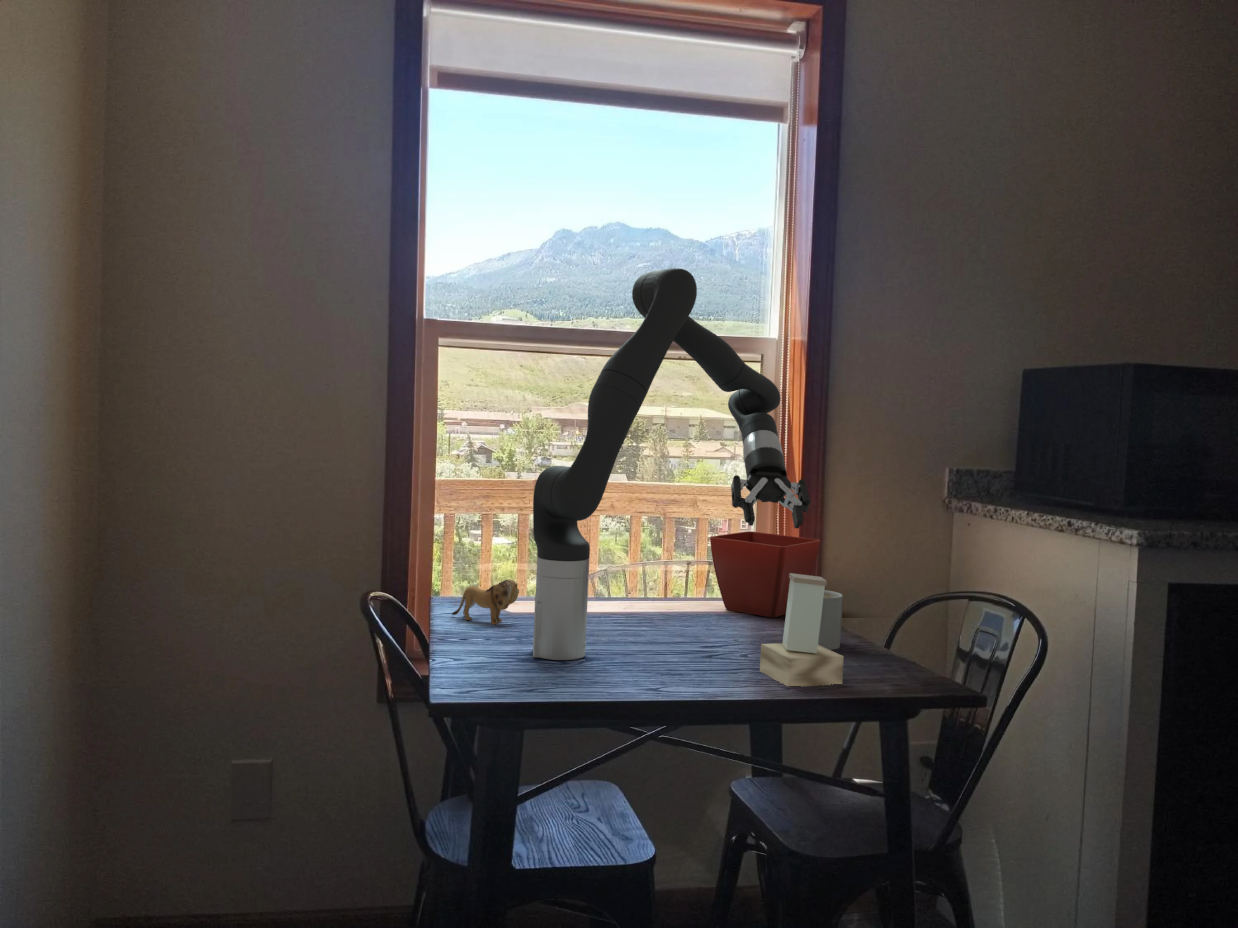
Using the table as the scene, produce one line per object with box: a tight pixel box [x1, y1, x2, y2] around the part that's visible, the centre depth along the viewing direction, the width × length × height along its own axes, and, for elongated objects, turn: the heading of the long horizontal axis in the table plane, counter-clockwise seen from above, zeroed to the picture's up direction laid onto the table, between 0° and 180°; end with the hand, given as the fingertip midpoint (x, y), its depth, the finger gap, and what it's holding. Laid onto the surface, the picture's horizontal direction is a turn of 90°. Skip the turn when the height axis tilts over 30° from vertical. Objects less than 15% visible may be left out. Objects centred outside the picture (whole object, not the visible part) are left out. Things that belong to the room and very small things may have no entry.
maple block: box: [759, 642, 845, 687], centre depth 159 cm, size 10×10×5 cm
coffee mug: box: [818, 589, 844, 651], centre depth 186 cm, size 13×10×10 cm
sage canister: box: [781, 573, 828, 654], centre depth 158 cm, size 5×5×12 cm
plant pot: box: [709, 530, 821, 618], centre depth 217 cm, size 19×19×17 cm
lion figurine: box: [451, 579, 520, 626], centre depth 192 cm, size 15×5×9 cm, turn 72°
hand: (775, 524), depth 171 cm, fingers open, 8 cm apart
